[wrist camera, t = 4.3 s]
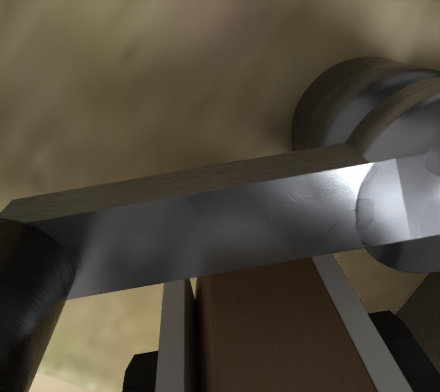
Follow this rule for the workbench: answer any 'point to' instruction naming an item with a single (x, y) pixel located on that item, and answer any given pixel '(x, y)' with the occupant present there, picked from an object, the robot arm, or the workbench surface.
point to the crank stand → (339, 133)
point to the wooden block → (273, 333)
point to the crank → (223, 222)
